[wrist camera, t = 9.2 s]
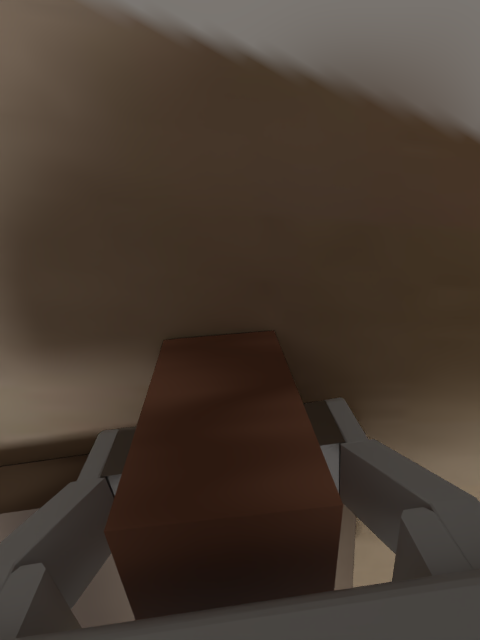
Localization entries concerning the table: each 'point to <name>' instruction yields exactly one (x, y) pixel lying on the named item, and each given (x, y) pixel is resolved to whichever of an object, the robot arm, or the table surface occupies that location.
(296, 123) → the table surface
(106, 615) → the walnut board
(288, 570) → the toy wooden hammer
